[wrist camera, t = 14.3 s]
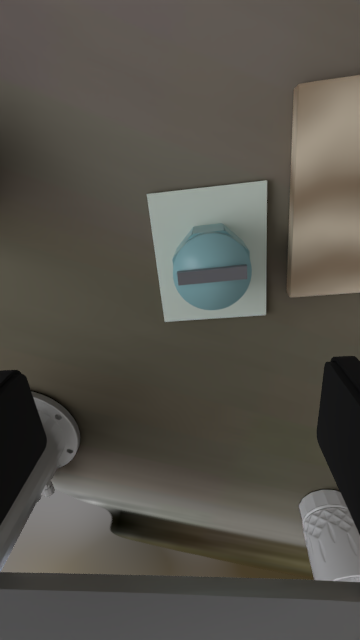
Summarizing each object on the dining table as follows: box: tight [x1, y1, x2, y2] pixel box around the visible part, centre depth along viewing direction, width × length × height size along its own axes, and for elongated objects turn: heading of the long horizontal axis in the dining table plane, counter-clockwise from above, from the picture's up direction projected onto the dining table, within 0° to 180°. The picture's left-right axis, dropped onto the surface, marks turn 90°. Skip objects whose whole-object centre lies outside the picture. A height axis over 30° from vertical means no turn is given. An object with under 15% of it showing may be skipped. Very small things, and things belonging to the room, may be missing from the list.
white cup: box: [299, 490, 360, 582], centre depth 37 cm, size 8×8×10 cm
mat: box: [147, 180, 267, 322], centre depth 28 cm, size 12×10×1 cm
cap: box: [172, 223, 252, 310], centre depth 26 cm, size 6×6×6 cm
